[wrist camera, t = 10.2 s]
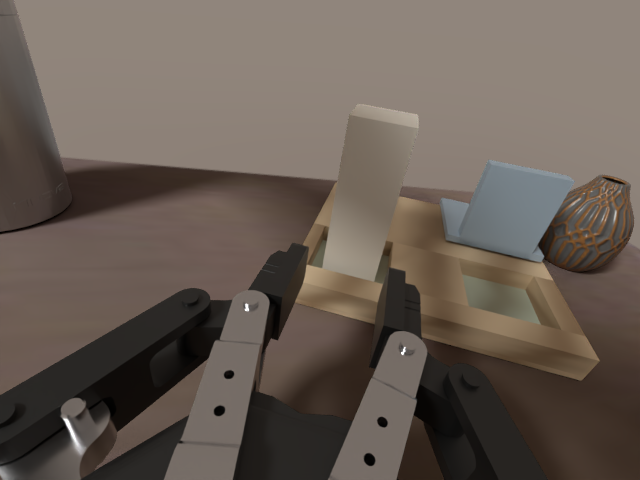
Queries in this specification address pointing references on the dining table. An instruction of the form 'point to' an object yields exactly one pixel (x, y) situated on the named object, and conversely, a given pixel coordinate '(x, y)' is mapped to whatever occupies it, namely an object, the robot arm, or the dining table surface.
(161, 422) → the dining table surface
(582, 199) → the vase
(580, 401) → the dining table surface
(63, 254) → the dining table surface
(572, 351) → the puzzle board
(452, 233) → the blue l-shaped block
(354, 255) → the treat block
